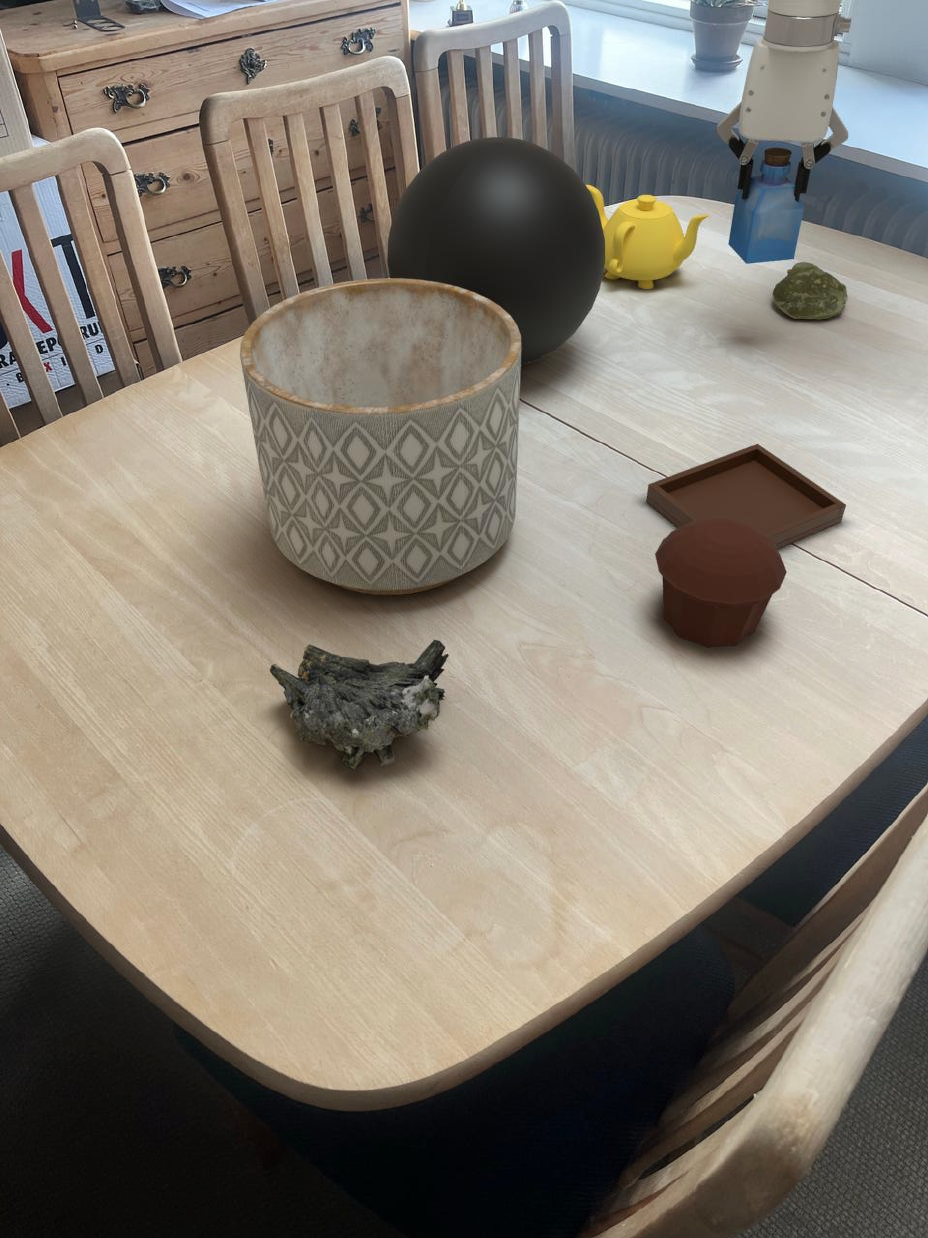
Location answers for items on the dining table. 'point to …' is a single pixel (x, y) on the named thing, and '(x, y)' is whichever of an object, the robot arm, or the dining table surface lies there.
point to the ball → (505, 235)
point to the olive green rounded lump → (810, 293)
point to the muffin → (717, 579)
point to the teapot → (644, 239)
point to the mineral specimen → (362, 700)
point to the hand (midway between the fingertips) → (770, 195)
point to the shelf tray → (748, 496)
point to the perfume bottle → (767, 213)
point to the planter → (386, 430)
